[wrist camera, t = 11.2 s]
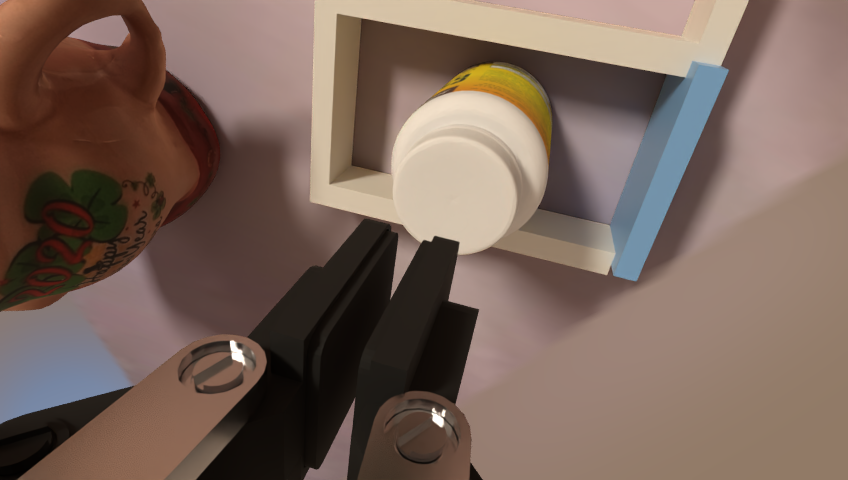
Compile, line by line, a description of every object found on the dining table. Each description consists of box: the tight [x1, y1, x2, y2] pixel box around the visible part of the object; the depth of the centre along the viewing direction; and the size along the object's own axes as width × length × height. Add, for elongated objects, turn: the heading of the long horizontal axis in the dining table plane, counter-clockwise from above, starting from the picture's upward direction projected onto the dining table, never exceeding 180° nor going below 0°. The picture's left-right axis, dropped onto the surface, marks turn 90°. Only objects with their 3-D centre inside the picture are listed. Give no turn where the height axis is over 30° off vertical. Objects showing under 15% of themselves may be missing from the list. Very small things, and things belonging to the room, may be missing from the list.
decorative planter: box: [0, 0, 220, 312], centre depth 22 cm, size 20×12×14 cm, turn 138°
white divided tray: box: [310, 0, 749, 281], centre depth 20 cm, size 16×19×4 cm
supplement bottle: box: [391, 62, 552, 255], centre depth 19 cm, size 6×6×10 cm
